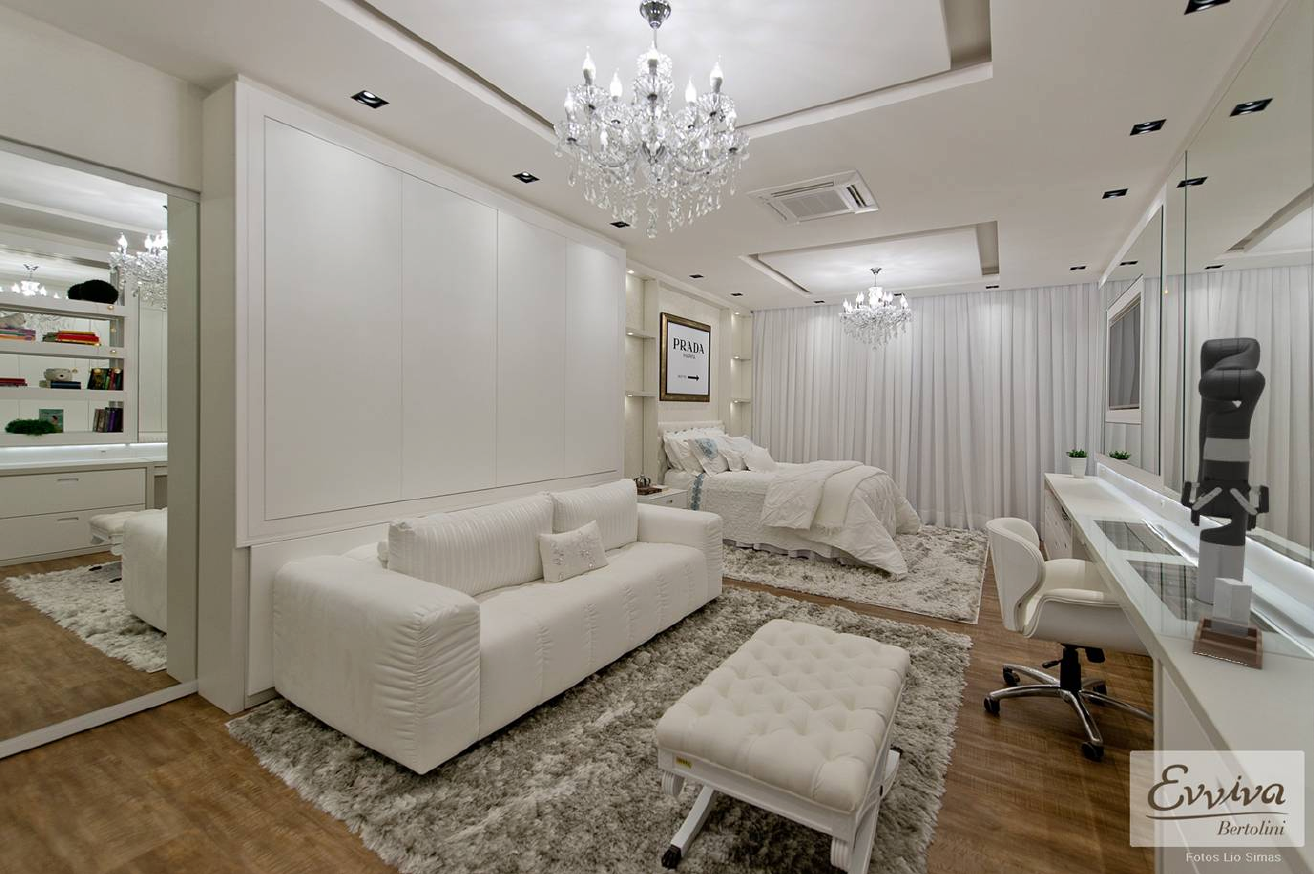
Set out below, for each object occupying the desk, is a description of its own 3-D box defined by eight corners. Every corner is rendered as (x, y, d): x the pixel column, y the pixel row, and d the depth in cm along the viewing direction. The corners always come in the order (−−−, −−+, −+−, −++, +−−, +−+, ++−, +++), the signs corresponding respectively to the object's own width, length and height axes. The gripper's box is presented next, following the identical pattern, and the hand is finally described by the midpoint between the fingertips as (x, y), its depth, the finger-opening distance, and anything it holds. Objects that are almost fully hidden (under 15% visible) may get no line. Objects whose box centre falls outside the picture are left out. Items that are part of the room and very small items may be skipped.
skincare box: (1250, 633, 140) (1253, 585, 139) (1229, 632, 141) (1232, 584, 140) (1230, 624, 146) (1233, 578, 145) (1210, 623, 147) (1214, 577, 146)
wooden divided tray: (1199, 628, 143) (1200, 609, 142) (1260, 641, 135) (1262, 621, 135) (1192, 653, 129) (1194, 631, 128) (1261, 669, 121) (1262, 646, 121)
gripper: (1266, 458, 129) (1261, 529, 130) (1181, 454, 138) (1177, 521, 139) (1275, 461, 123) (1270, 535, 124) (1186, 457, 132) (1182, 527, 133)
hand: (1221, 528), depth 131 cm, fingers open, 8 cm apart
